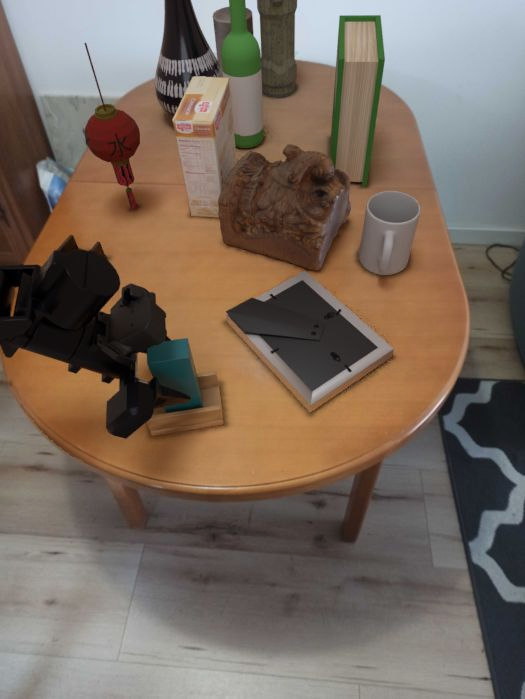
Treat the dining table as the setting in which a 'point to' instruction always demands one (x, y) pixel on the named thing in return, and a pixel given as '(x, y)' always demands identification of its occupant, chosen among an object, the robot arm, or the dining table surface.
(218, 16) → the pillar candle
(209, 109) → the coffeecake box
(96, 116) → the lantern
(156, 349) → the teal rectangular block
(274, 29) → the thermos
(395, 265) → the mug
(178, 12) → the vase
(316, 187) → the sculpture
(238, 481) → the dining table surface
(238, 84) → the bottle
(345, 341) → the picture frame
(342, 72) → the hardback book
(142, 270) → the dining table surface
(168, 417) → the stand
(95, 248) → the rack
